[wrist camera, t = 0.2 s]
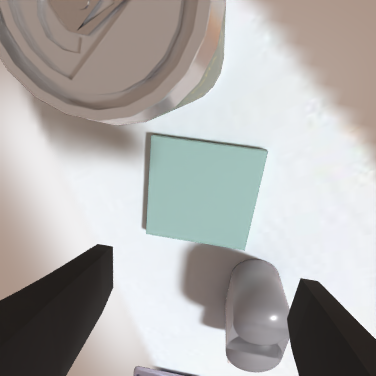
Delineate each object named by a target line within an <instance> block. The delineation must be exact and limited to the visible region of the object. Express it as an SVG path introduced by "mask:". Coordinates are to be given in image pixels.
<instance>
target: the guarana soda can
mask: <svg viewBox="0 0 376 376" xmlns="http://www.w3.org/2000/svg"><path fill="white" fill-rule="evenodd" d="M225 11H226V0H0V59H1V60H2V62H3V64H4V65H5V67H6V68H7V70H8V71H9V72H10V73H11V74H12V75H13V76H14V77H15V78H16V79H17V80H18V81H19V82H20V83H21V84H22V85H23V86H24V87H25V88H26V89H28V90H29V91H30V92H31V93H32V94H33V95H34V96H35V97H36V98H38V99H40V100H41V101H43V102H45V103H47V104H49V105H50V106H52V107H54V108H56V109H58V110H59V111H61V112H63V113H65V114H67V115H72V116H76V117H81V118H85V119H88V120H93V121H98V122H102V123H107V124H112V125H124V124H132V123H140V122H147V121H149V120H152V119H154V118H156V117H159V116H161V115H163V114H165V113H168V112H170V111H172V110H175V109H177V108H179V107H182V106H184V105H186V104H189V103H191V102H193V101H195V100H197V99H199V98H201V97H203V96H204V95H205V94H206V93H207V92H208V91H209V90H210V89H211V88H212V87H213V86H214V84H215V83H216V81H217V79H218V77H219V75H220V73H221V69H222V64H223V59H224V38H225Z"/></svg>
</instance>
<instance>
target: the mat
mask: <svg viewBox="0 0 376 376" xmlns="http://www.w3.org/2000/svg"><path fill="white" fill-rule="evenodd" d="M267 154H268V151H267V150H263V149H255V148H248V147H241V146H233V145H226V144H219V143H211V142H204V141H197V140H189V139H182V138H175V137H167V136H160V135H152V136H151V151H150V169H149V188H148V206H147V225H146V234H150V235H156V236H162V237H168V238H173V239H179V240H185V241H191V242H197V243H203V244H209V245H215V246H221V247H227V248H233V249H239V250H245V247H246V242H247V238H248V234H249V230H250V226H251V221H252V217H253V213H254V209H255V204H256V200H257V196H258V192H259V187H260V183H261V179H262V175H263V171H264V166H265V162H266V158H267Z"/></svg>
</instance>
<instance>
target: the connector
mask: <svg viewBox="0 0 376 376" xmlns="http://www.w3.org/2000/svg"><path fill="white" fill-rule="evenodd" d="M289 311H290V309H289V306H288V303H287V299H286V296H285V293H284V290H283V286H282V283H281V280H280V276H279V273H278V271H277V269H276V268H275V267H274V266H273V265H272V264H270V263H269V262H267V261H264V260H259V259H250V260H246V261H243V262H241V263H240V264H238V265H237V266H236V267H235V268H234V270H233V271H232V274H231V279H230V283H229V288H228V292H227V297H226V302H225V320H226V356H227V358H228V363H231V364H233V365H234V366H236V367H237V368H239V369H242V370H244V371H248V372H264V371H268V370H271V369H273V368H274V367H276V366H277V365H278V364H279V363H280V361H281V359H282V356H283V354H284V351H285V348H286V346H287V343H288V341H289V338H290V337H289V331H288V324H287V317H288V314H289Z"/></svg>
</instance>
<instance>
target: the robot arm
mask: <svg viewBox="0 0 376 376" xmlns="http://www.w3.org/2000/svg"><path fill="white" fill-rule="evenodd" d="M112 289H113V247H112V246H106V245H100V244H97V245H95V246H94V247H92V248H90V249H89V250H87V251H86V252H84V253H82V254H81V255H79V256H78V257H76V258H75V259H73V260H71V261H70V262H68V263H66V264H65V265H63V266H62V267H60V268H58V269H56V270H55V271H53V272H52V273H50V274H48V275H46V276H45V277H43V278H41V279H39V280H38V281H36V282H34V283H32V284H30V285H29V286H27V287H25V288H23V289H21V290H20V291H18V292H16V293H14V294H12V295H10V296H8V297H6V298H4V299H2V300H0V376H66V375H67V373H68V371H69V369H70V368H71V366H72V364H73V363H74V361H75V359H76V357H77V356H78V354H79V352H80V351H81V349H82V347H83V345H84V344H85V342H86V340H87V338H88V337H89V335H90V333H91V331H92V330H93V328H94V326H95V324H96V322H97V321H98V319H99V317H100V316H101V314H102V312H103V310H104V307H105V305H106V303H107V301H108V298H109V296H110V294H111V291H112ZM287 324H288V331H289V337H290V343H291V348H292V352H293V356H294V359H295V363H296V366H297V370H298V373H299V376H376V339H375V338H374V337H373V336H372V335H371V334H370V333H369V332H368V331H367V330H366V329H365V328H364V327H363V326H362V325H361V324H360V323H359V322H358V321H357V320H356V319H355V318H354V317H353V316H352V315H351V314H350V313H349V312H348V311H347V310H346V309H345V308H344V307H343V306H342V305H341V304H340V303H339V302H338V301H337V300H336V299H335V298H334V297H333V296H332V295H331V294H330V293H329V292H328V291H327V290H326V289H325V288H324V287H323V286H322V285H321V284H320V283H319V282H318V281H314V280H308V279H302V278H301V279H300V282H299V285H298V288H297V291H296V293H295V296H294V299H293V302H292V305H291V308H290V311H289V314H288V317H287ZM134 376H183V375H178V374H173V373H169V372H164V371H159V370H154V369H150V368H145V367H140V366H137V367H135V369H134Z"/></svg>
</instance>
